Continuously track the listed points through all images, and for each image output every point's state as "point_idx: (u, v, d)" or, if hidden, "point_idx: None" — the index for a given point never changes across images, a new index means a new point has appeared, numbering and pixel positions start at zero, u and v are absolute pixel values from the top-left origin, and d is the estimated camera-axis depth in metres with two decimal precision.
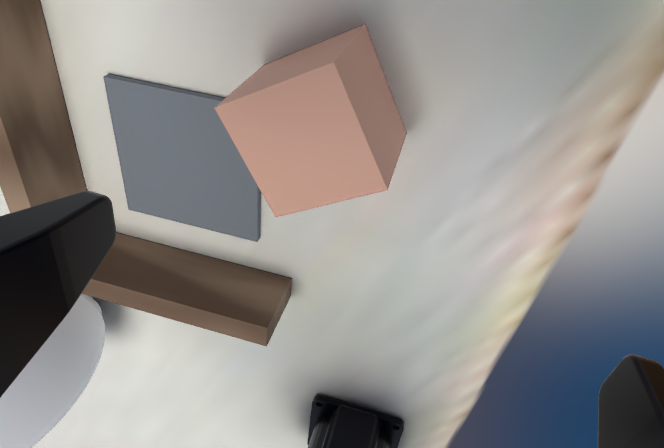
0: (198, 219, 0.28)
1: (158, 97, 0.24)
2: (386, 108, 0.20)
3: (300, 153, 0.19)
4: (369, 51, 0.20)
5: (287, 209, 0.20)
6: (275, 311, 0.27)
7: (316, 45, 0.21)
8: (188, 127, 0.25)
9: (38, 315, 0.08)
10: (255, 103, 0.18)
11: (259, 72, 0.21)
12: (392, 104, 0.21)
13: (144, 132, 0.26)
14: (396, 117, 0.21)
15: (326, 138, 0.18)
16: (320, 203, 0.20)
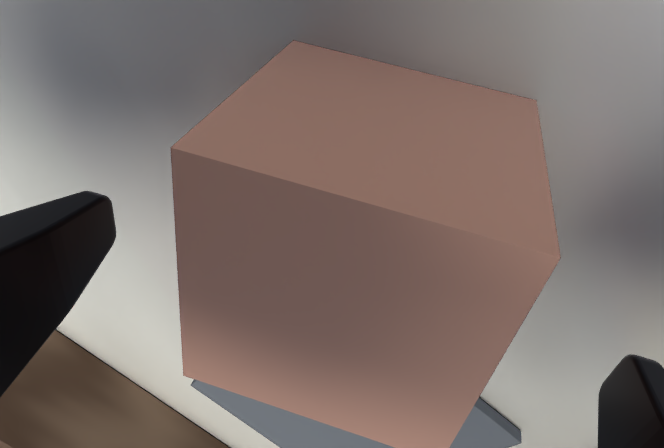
0: None
1: None
2: (436, 105, 0.09)
3: (337, 338, 0.08)
4: (324, 63, 0.10)
5: (439, 438, 0.09)
6: None
7: None
8: None
9: (38, 315, 0.08)
10: (200, 324, 0.08)
11: None
12: (451, 89, 0.09)
13: (273, 409, 0.18)
14: (483, 98, 0.09)
15: (332, 278, 0.07)
16: (473, 390, 0.08)
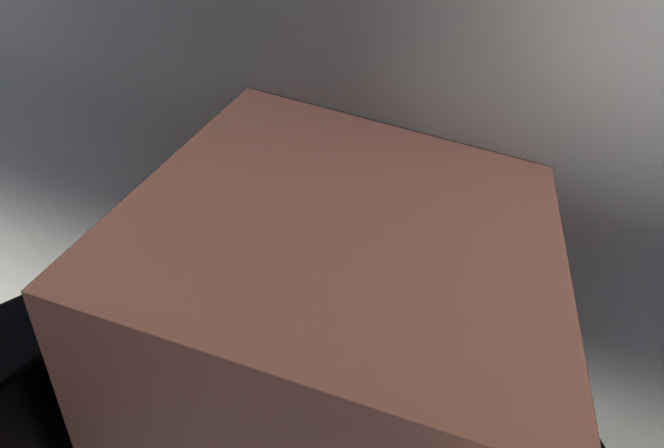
0: None
1: None
2: (423, 185, 0.07)
3: None
4: (280, 124, 0.07)
5: None
6: None
7: None
8: None
9: None
10: None
11: None
12: (443, 158, 0.07)
13: None
14: (485, 169, 0.07)
15: None
16: None
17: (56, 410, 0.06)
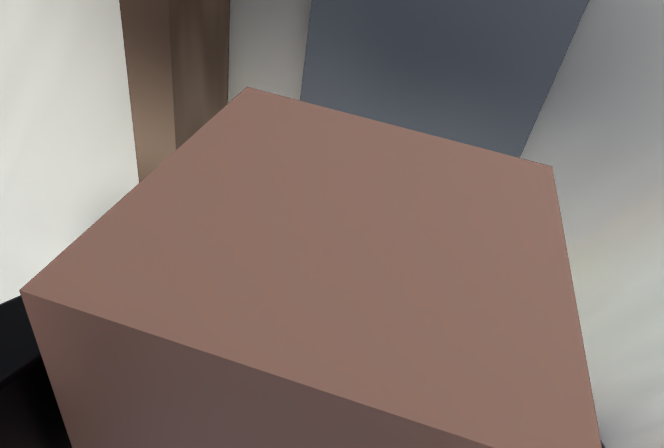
0: None
1: None
2: (422, 184, 0.07)
3: None
4: (280, 123, 0.07)
5: None
6: None
7: None
8: (451, 9, 0.15)
9: None
10: None
11: None
12: (444, 156, 0.07)
13: (364, 19, 0.16)
14: (485, 168, 0.07)
15: None
16: None
17: (56, 410, 0.06)
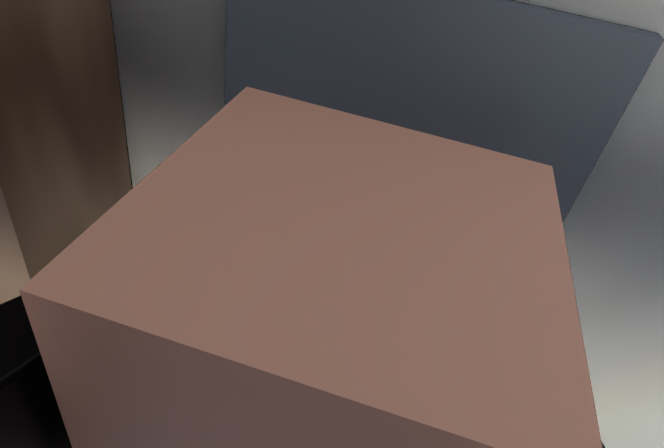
0: None
1: (369, 2, 0.09)
2: (422, 183, 0.07)
3: None
4: (280, 122, 0.07)
5: None
6: None
7: None
8: (428, 85, 0.10)
9: None
10: None
11: None
12: (444, 156, 0.07)
13: (302, 94, 0.11)
14: (485, 167, 0.07)
15: None
16: None
17: (56, 410, 0.06)
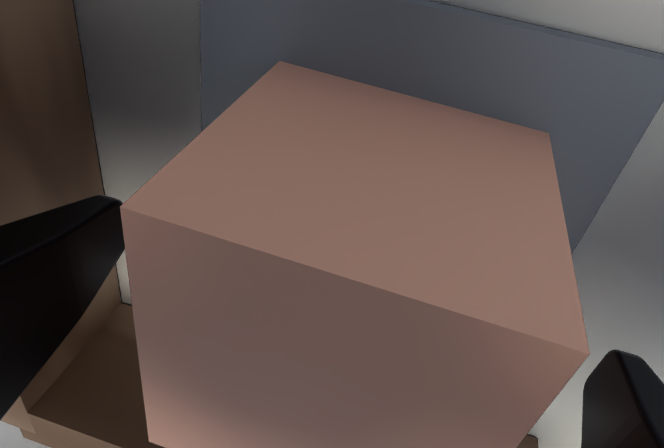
0: None
1: (356, 21, 0.08)
2: (437, 142, 0.08)
3: (320, 419, 0.07)
4: (312, 90, 0.08)
5: None
6: None
7: None
8: None
9: (52, 320, 0.08)
10: (164, 393, 0.07)
11: None
12: (454, 122, 0.08)
13: None
14: (491, 132, 0.08)
15: (313, 356, 0.06)
16: None
17: None
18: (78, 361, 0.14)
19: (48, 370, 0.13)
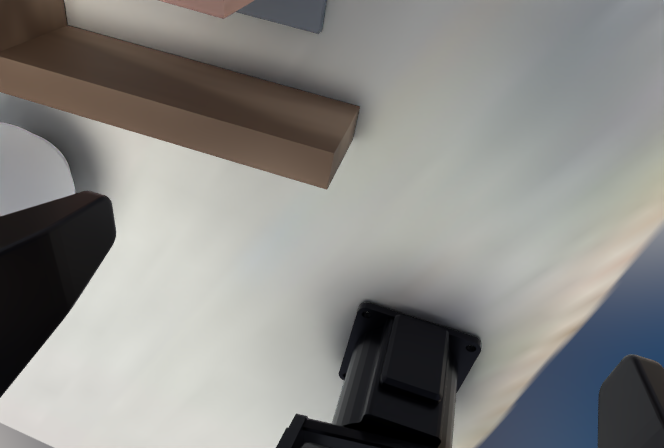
0: None
1: None
2: None
3: None
4: None
5: None
6: (342, 138, 0.18)
7: None
8: None
9: (38, 315, 0.08)
10: None
11: None
12: None
13: None
14: None
15: None
16: None
17: None
18: (31, 41, 0.19)
19: (8, 31, 0.18)
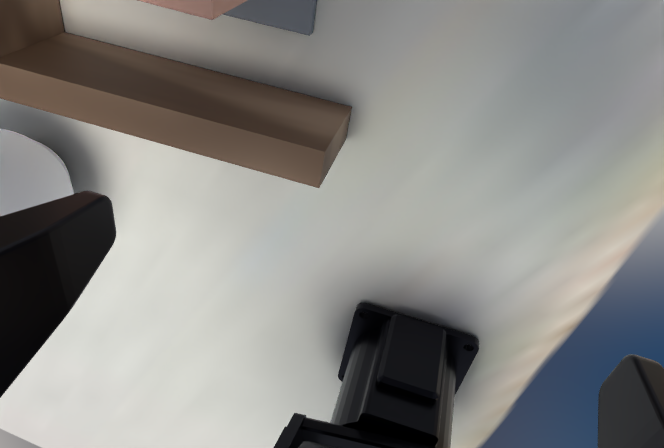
0: None
1: None
2: None
3: None
4: None
5: None
6: (334, 137, 0.18)
7: None
8: None
9: (38, 315, 0.08)
10: None
11: None
12: None
13: None
14: None
15: None
16: None
17: None
18: (29, 48, 0.20)
19: (6, 38, 0.19)
